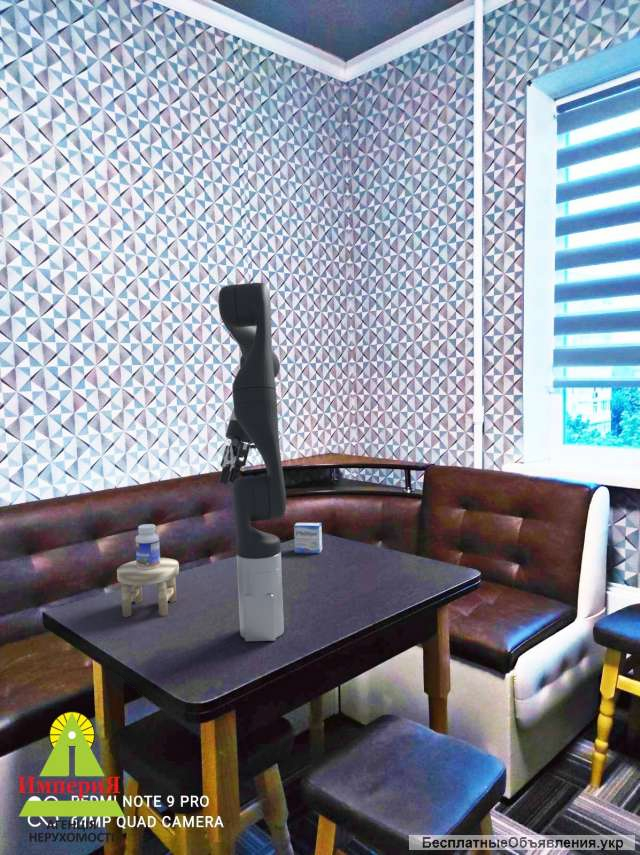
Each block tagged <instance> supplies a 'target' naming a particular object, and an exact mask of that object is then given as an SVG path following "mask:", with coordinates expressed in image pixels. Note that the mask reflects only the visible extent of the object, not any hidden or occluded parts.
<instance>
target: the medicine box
mask: <svg viewBox="0 0 640 855" xmlns="http://www.w3.org/2000/svg"><path fill="white" fill-rule="evenodd" d="M293 530H294V531H293V532H294V533H293V534H294V535H293V536H294V537H293V538H294V553H295V554H321V552H322V550H323V534H322V533H323V532H322V531H323V530H322V522H296V523H295V524H294V526H293Z"/></svg>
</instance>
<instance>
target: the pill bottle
mask: <svg viewBox="0 0 640 855" xmlns="http://www.w3.org/2000/svg"><path fill="white" fill-rule="evenodd" d="M137 529H138V530H137V533H138V534H137V535H136V536H135V556H136V558H135V560H136V564H137V568H139V569H143V570H147V569H153V568H156V567H158V566H159V565H160V558H161V550H160V547H161V546H160V536H159V534H158V533H156V531H157V526H156V525H155V524H153V523H145V524H140V525H138V527H137Z"/></svg>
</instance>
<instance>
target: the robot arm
mask: <svg viewBox="0 0 640 855" xmlns="http://www.w3.org/2000/svg"><path fill="white" fill-rule="evenodd" d="M271 304H272V303H271V296H270V291H269V289H268V286H267V285H266V284H265V283H263V282H251V283H249V282H248V283H247V282H246V283H238V284H228V285H225V286H223V287H221V288H220V290H219V293H218V311H219V314H220V315H219V316H220V319H221V321H222V323H223V325H224V326H225V328H226V330H227V331H228V332H229V334H230V335H231V336H232V337H233V339H234V340H235V341H236V342H237V345H238V347H239V349H240V352H241V357H240V361H239V368H238V369H239V370H238V371H237V374H236V376H235V378H234V380H233V383H232V402H233V409H232V410H231V415H230V418H229V421H228V426H227V428H226V432H225V437H226V439H228V440H230V441H231V442H230V443H229V445H228V444H226V446H225V449H224V453H223V456H222V459H221V462H220V467H221V473H220V476H219V479H218V482H219V483H220V484H222V485H228V483H230V484H231V483H232V494H231V495H232V505H233V514H234V523H235V524H234V525H235V543H236V546H235V548H236V549H235V550H236V569H237V570H236V571H237V572H236V573H237V592H238V594H237V595H238V614H239V634H240V637H241V638H243V639H244V641H245V642H264V641H265V642H267V641H269V642H270V641H271V642H272V641H276V640H277V638H278V637H280V636H281V635H282V634H284V631H285V624H284V620H285V618H284V602H283V601H284V600H283V599H284V598H283V597H284V596H283V576H282V574H283V573H282V549H281V548H282V545H281V543H282V542H281V540H280V538H279V536H277V535H275V534H272V533H269V532H264V531H261V530H259V529H257V528H255V527H253V526H252V525H251V522H258V521H260V522H261V521H272V520H280V519H283V517H285V514H286V511H287V492H286V487H285V486H286V485H285V477H284V471H283V462H282V456H281V455H282V454H281V448H280V439H279V438H280V437H279V435H280V434H279V417H278V400H277V389H276V377H277V376H278V375H279V373H280V368H281V366H280V365H281V364H280V360H279V357H278V355H277V354H276V352H275V351H274V350H273V347H272V345H273V344H272V337H273V336H272V305H271ZM252 444H253V445H254V446H255V448H256V449H257V451H258V453H259V454H260V456H261V458H262V461H263V462H264V466H265V470H266V473H267V475H255V476H241V477H240V474H241V470H242V469H243V468H244V467H246V465H247V459H248V455H249V452H250V447H251V445H252Z"/></svg>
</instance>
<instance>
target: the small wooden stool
mask: <svg viewBox="0 0 640 855" xmlns="http://www.w3.org/2000/svg"><path fill="white" fill-rule="evenodd" d="M179 565H180V563H179V561H178V560H177V559H174V558H169V557H168V558H167V557H160V565H159V566H158V567H156V568H153V569H147V570H143V569H139V568H137V564H136V559H135V560H132V561H130V562H129V561H128V562H126V563H124V564H121V565H119V566H118V568H117V569H116V576H117V577H116V579H117V582H119V583H120V594H121V597H120V598H121V608H122V609H121V612H122V617H123V616H124V617H123V618H129V617H131V616H132V615H133V612H132V603H134V602H135V603H134V604H140V603H139V602H141V601H142V602H143V593H142V592H143V590H142V586H147V585H154V584H156V585H157V596H158V598H157V600H158V615H159V617H160V616H161V617H163V616H164V617H165V616H167V615H169V606H168V605H169V604H168V601H169V603H174V601H175V602H177V584H176V580H177V579H176V577H177V576H178V575H179V573H180V567H179ZM131 586H132V590H131ZM142 602H141V603H142ZM128 616H129V617H128Z"/></svg>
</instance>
